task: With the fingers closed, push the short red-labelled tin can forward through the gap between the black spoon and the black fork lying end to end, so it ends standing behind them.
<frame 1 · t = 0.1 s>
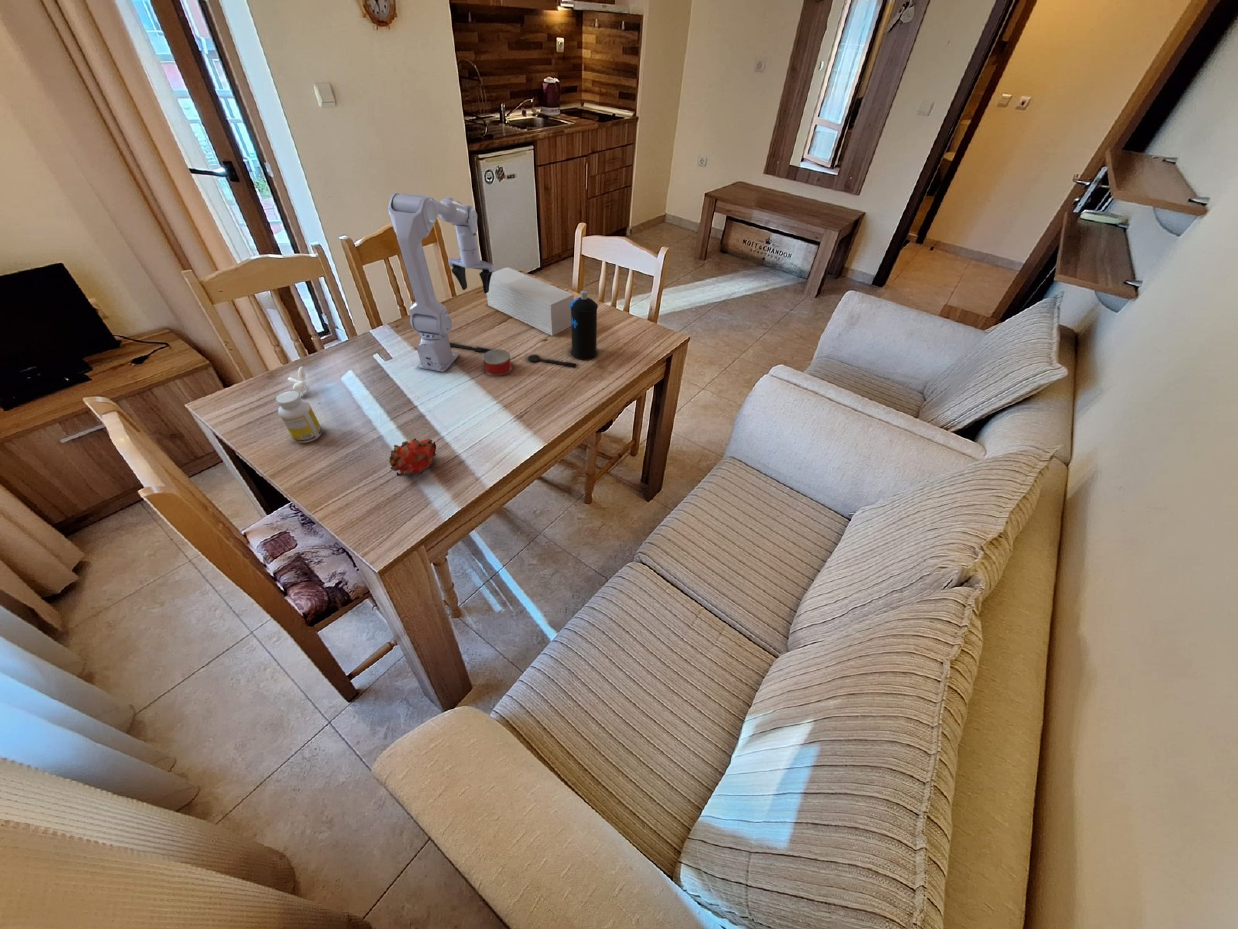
hand: (475, 290, 156), 10 cm above the table, tool pointing down, fingers open, 7 cm apart
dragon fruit: (418, 467, 111), on the table
tin can: (498, 368, 142), on the table
long white block: (530, 315, 167), on the table
aerosol can: (584, 353, 150), on the table
spoon: (551, 362, 145), on the table
pill bottle: (308, 435, 117), on the table
rabbit figurine: (303, 390, 130), on the table
fork: (466, 348, 149), on the table
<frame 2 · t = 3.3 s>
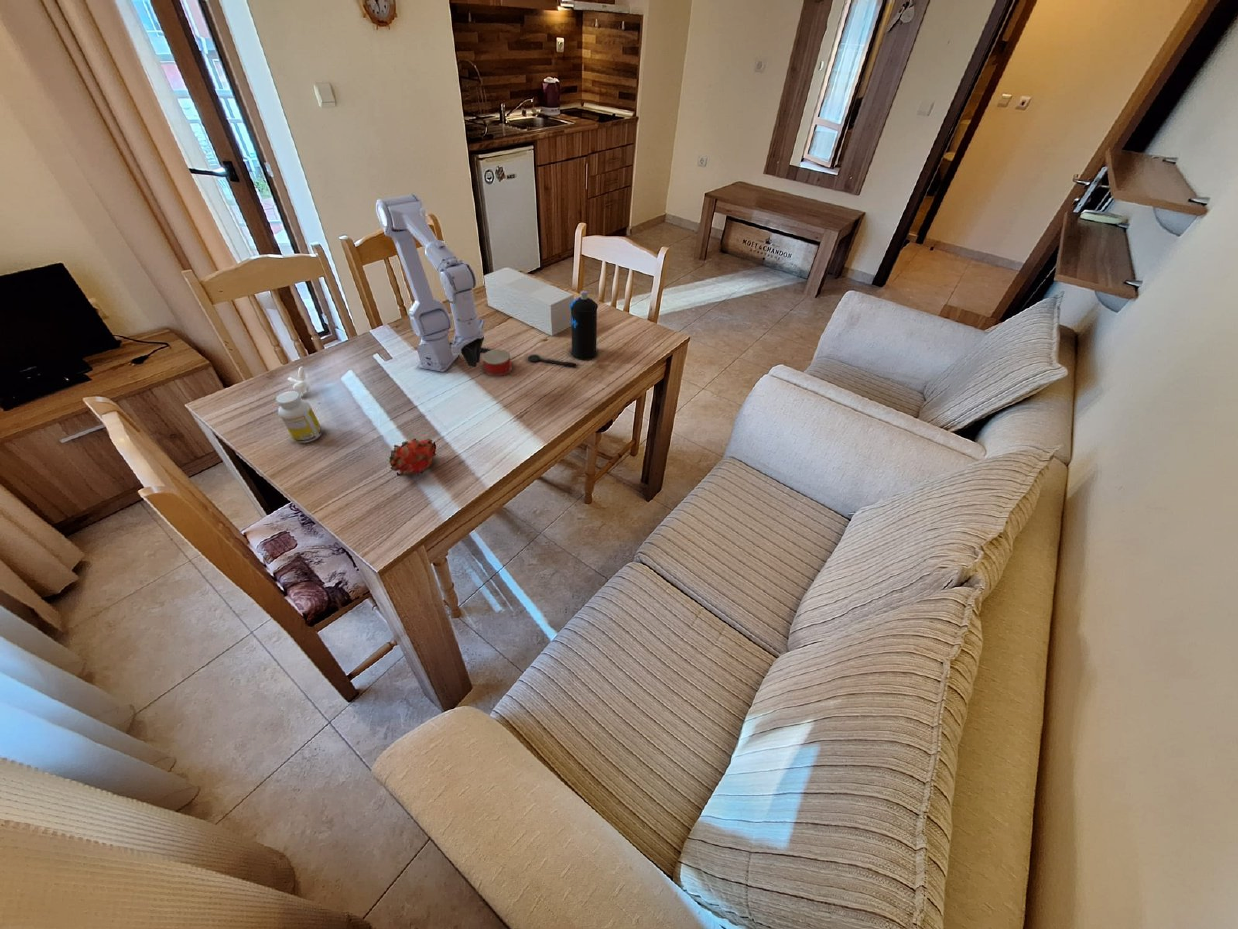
hand: (473, 363, 126), 9 cm above the table, tool pointing down, fingers closed
nothing on the table moved.
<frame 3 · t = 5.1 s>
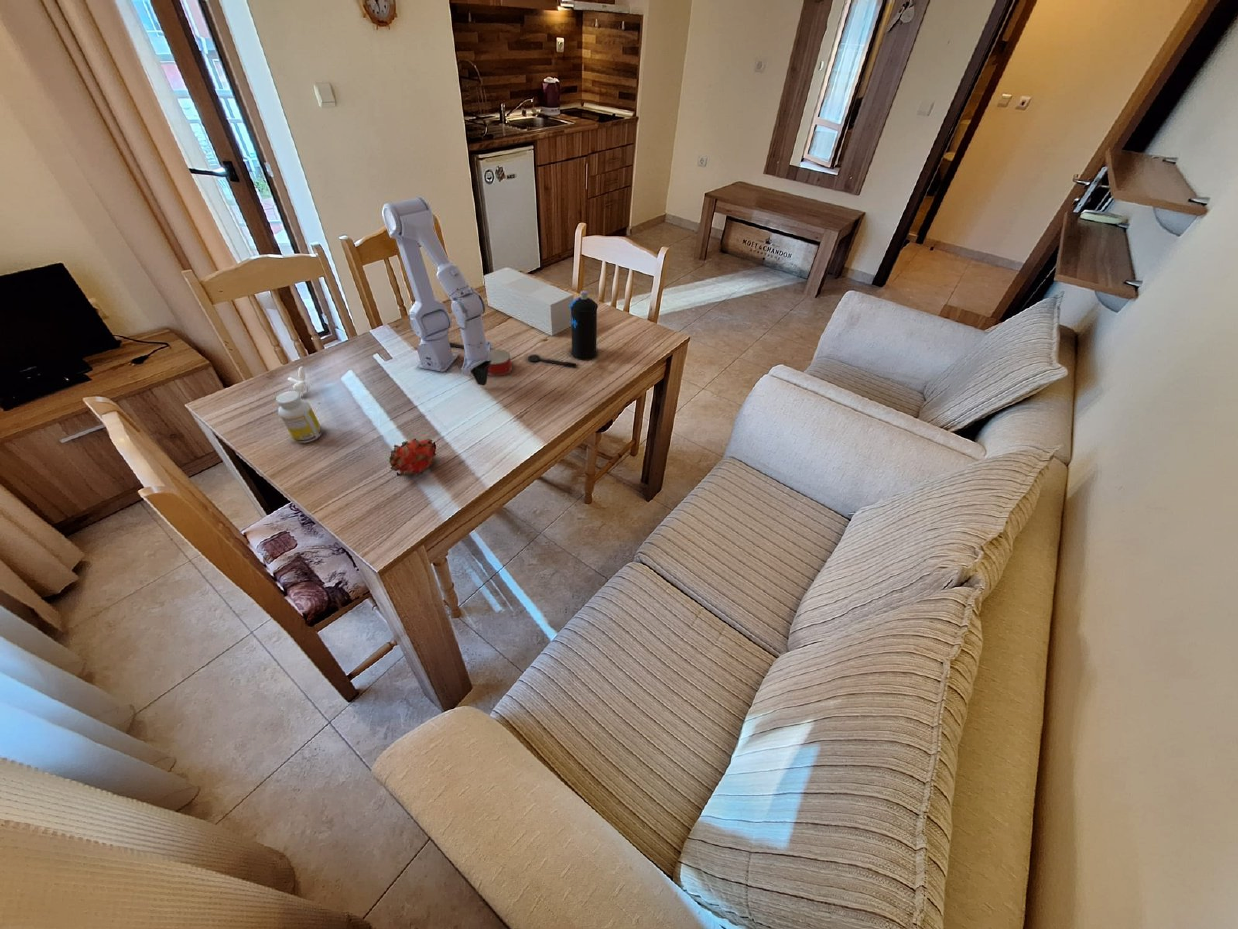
hand: (482, 383, 133), 2 cm above the table, tool pointing down, fingers closed
nothing on the table moved.
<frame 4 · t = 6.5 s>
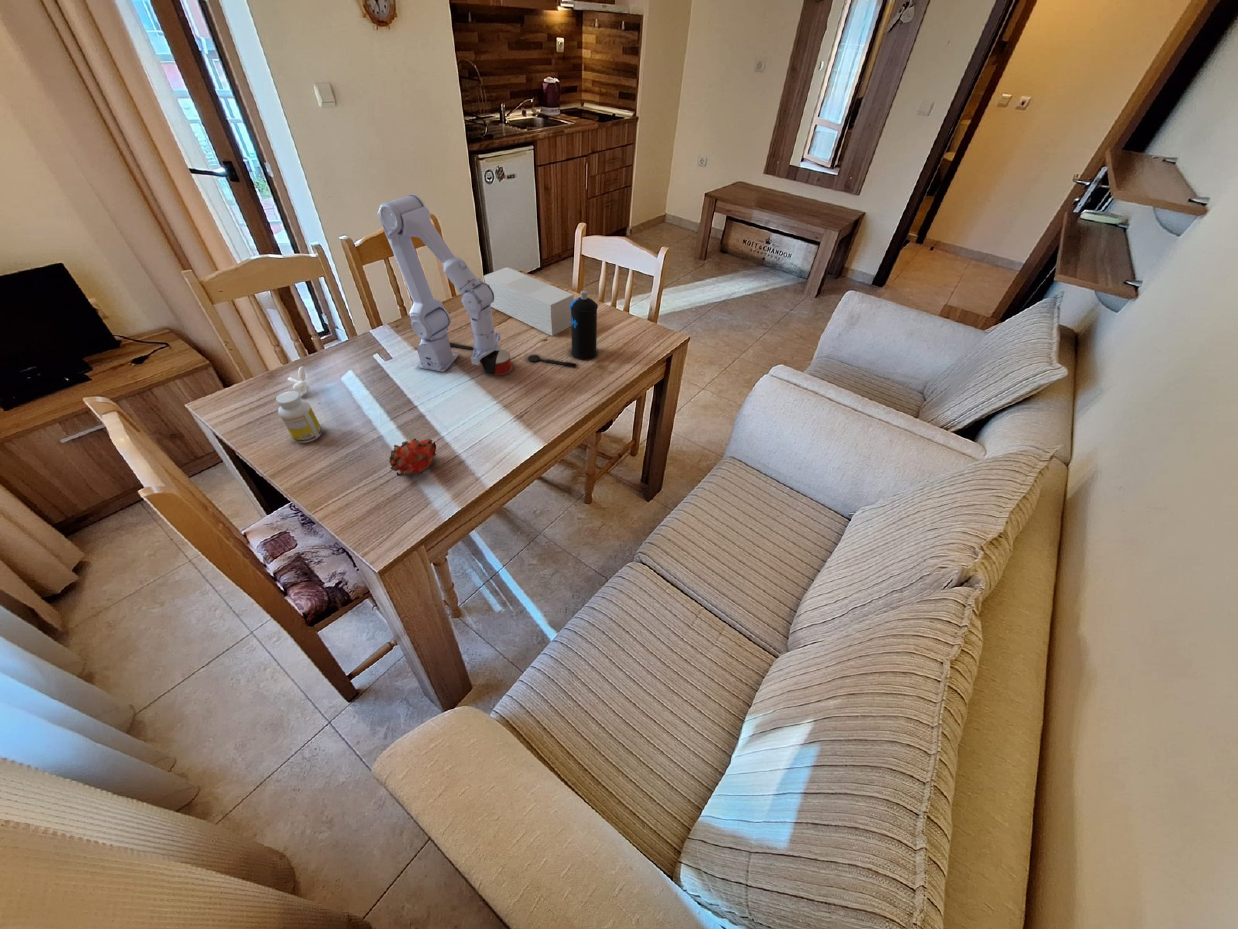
hand: (490, 373, 137), 2 cm above the table, tool pointing down, fingers closed
tin can: (498, 368, 142), on the table, touching gripper
everything else where it was.
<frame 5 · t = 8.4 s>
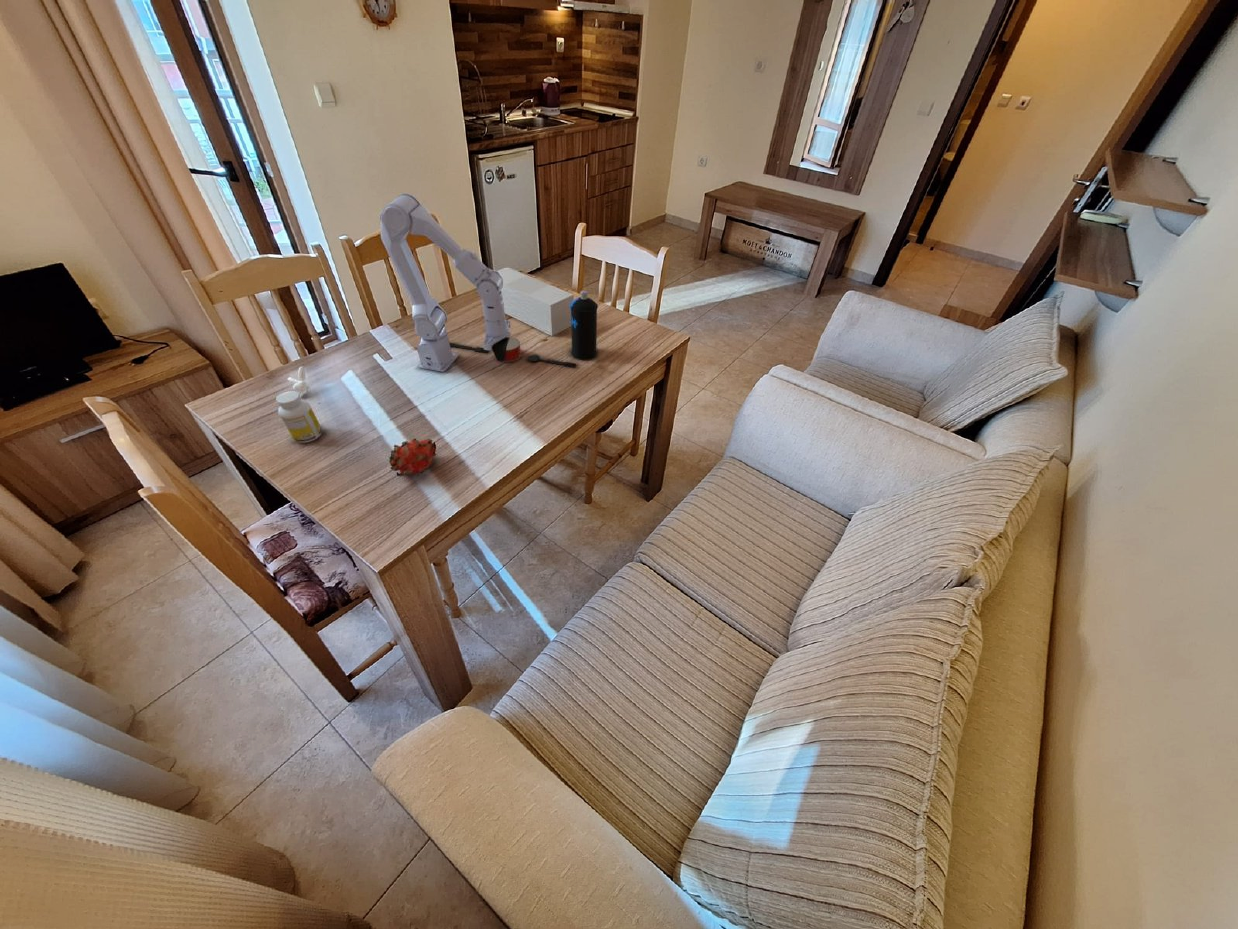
hand: (501, 359, 142), 2 cm above the table, tool pointing down, fingers closed
tin can: (508, 355, 147), on the table, touching gripper
everything else where it was.
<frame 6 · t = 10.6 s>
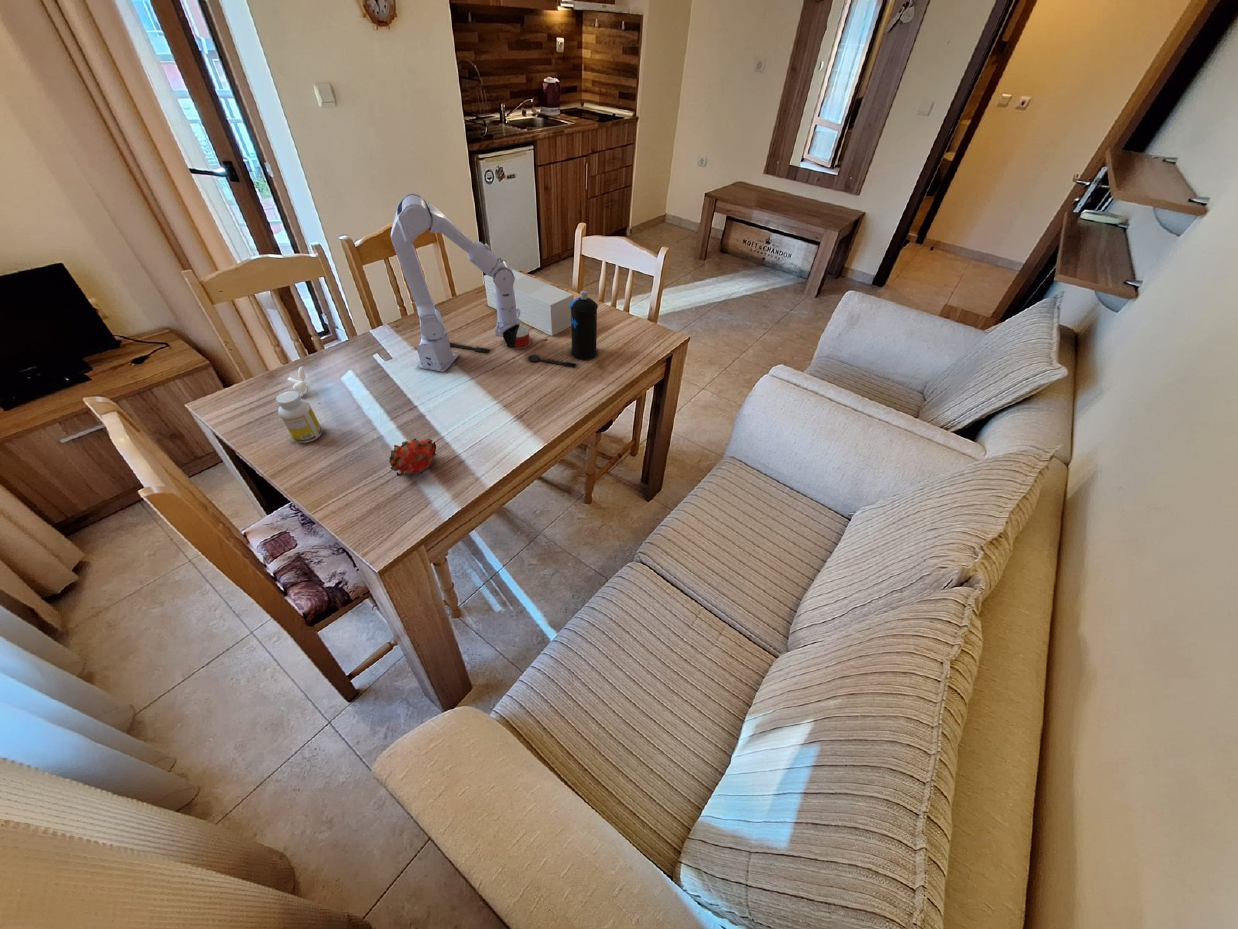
hand: (511, 346, 148), 2 cm above the table, tool pointing down, fingers closed
tin can: (517, 342, 153), on the table, touching gripper
everything else where it was.
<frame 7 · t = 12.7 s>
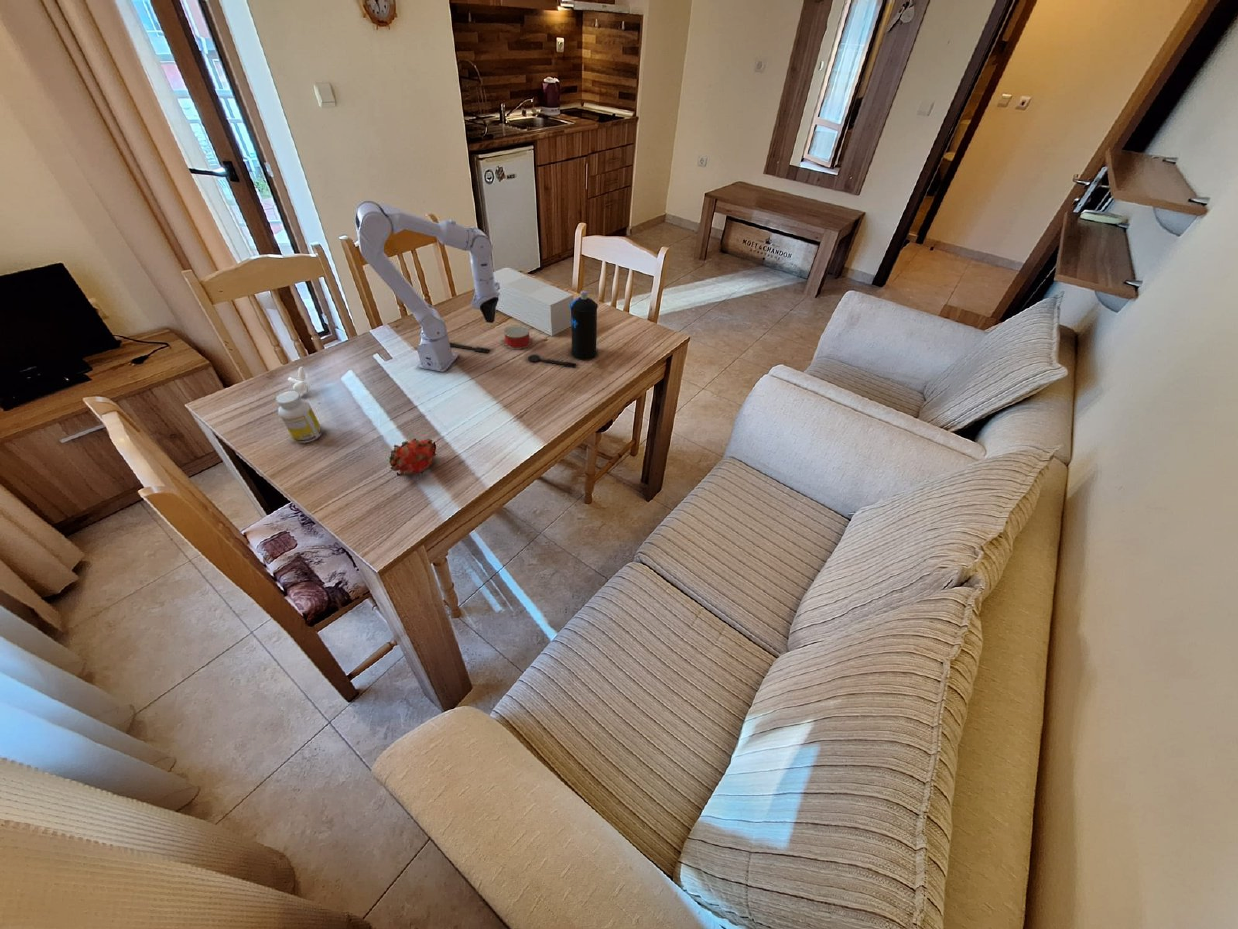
hand: (490, 321, 143), 9 cm above the table, tool pointing down, fingers closed
tin can: (517, 342, 153), on the table
everything else where it was.
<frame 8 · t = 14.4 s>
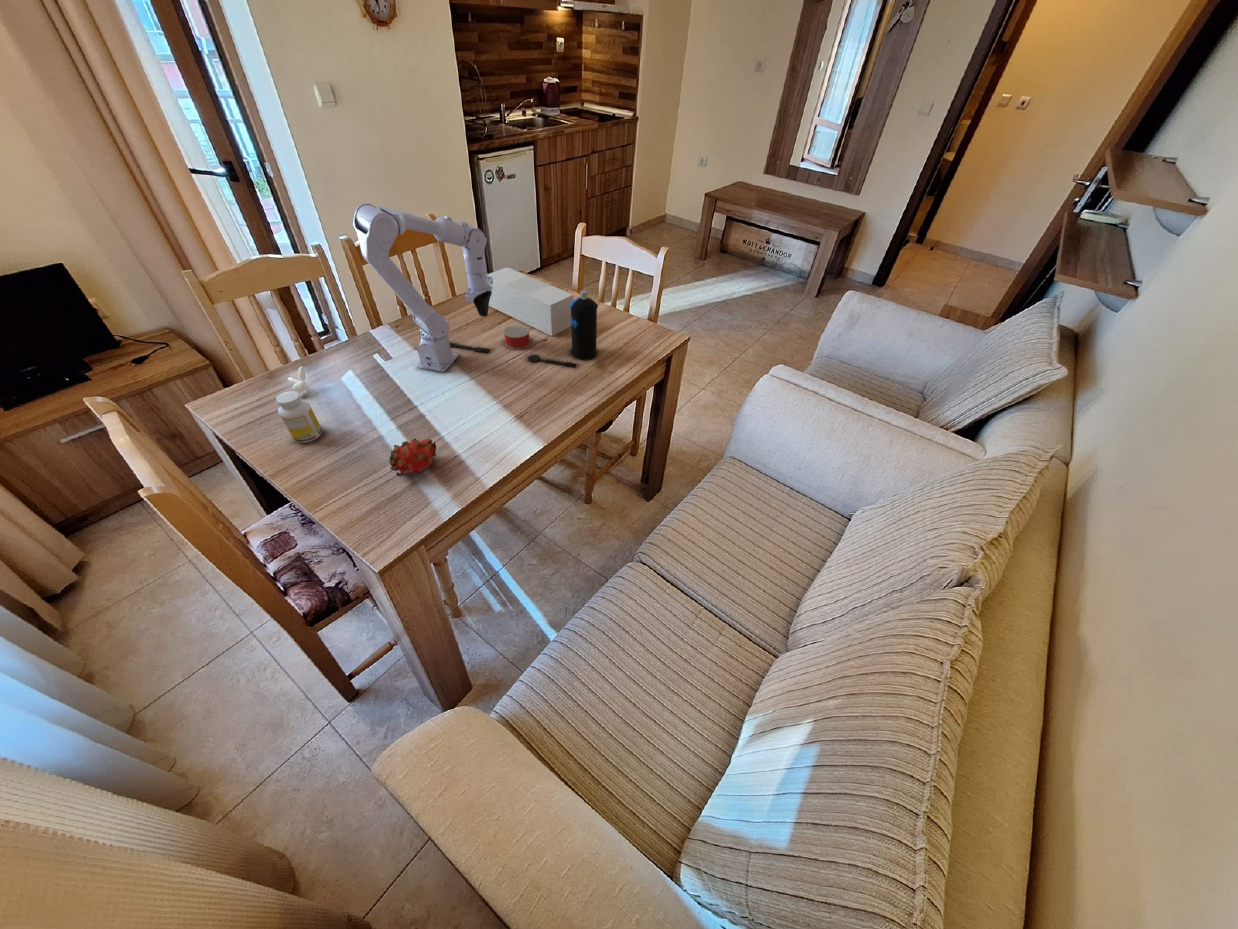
hand: (483, 315, 145), 9 cm above the table, tool pointing down, fingers closed
nothing on the table moved.
at the end: tin can inside the target area (2.6 cm from its centre), on the table; spoon moved 0.0 cm from its start; fork moved 0.0 cm from its start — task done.
